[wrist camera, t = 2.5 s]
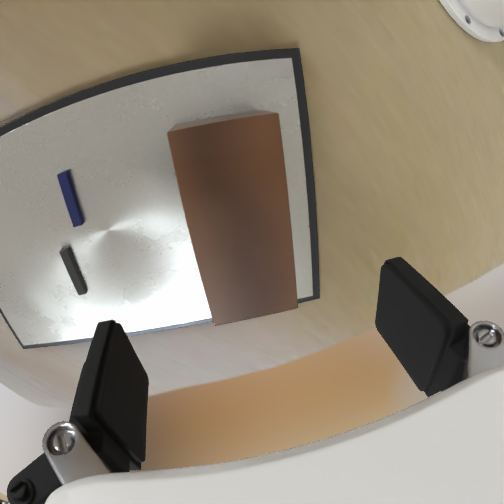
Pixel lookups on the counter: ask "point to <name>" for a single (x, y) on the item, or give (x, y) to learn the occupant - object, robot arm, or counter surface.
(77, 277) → the bar
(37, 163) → the whiteboard
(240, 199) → the eraser
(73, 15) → the counter surface
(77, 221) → the stroke navy
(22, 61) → the counter surface
